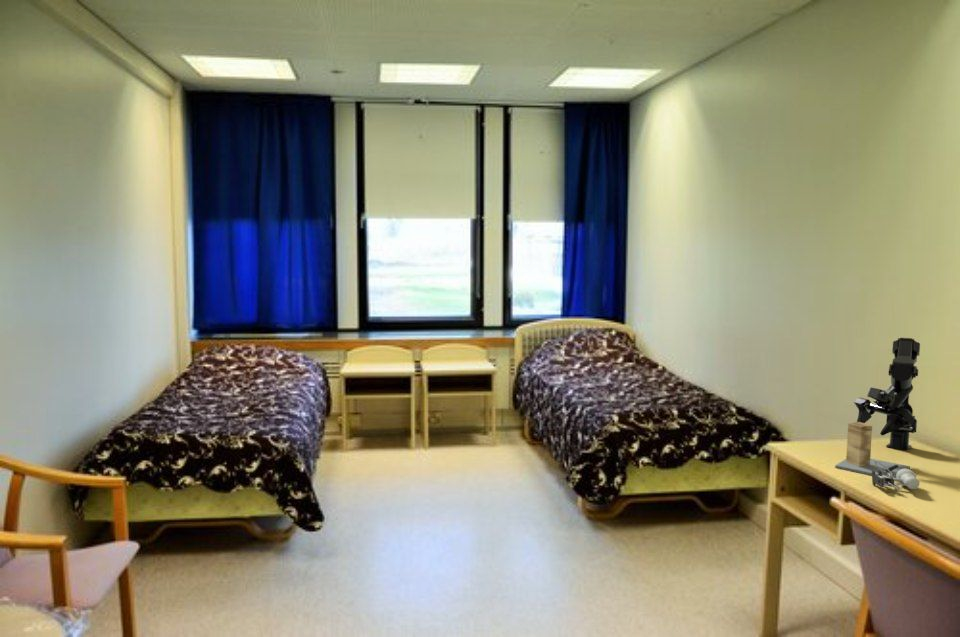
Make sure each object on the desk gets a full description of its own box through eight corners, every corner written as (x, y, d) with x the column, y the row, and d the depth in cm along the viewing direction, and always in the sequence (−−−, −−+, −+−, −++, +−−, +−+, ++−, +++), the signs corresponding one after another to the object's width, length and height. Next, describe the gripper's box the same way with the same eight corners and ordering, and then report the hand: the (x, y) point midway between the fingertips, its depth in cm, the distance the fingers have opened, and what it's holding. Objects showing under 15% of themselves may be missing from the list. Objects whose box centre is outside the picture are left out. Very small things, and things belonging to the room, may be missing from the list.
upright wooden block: (857, 460, 228) (859, 422, 227) (869, 465, 224) (872, 425, 222) (846, 462, 227) (848, 423, 225) (858, 466, 222) (860, 426, 221)
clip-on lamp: (865, 477, 218) (877, 492, 201) (864, 457, 218) (876, 470, 201) (908, 478, 214) (924, 493, 197) (907, 458, 214) (923, 471, 197)
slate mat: (852, 457, 235) (852, 454, 234) (909, 468, 222) (909, 466, 222) (835, 467, 223) (835, 465, 223) (894, 480, 211) (894, 478, 211)
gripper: (859, 373, 234) (832, 408, 232) (910, 384, 217) (881, 422, 214) (876, 394, 238) (849, 429, 235) (927, 407, 220) (899, 444, 218)
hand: (868, 430), depth 225 cm, fingers open, 9 cm apart
